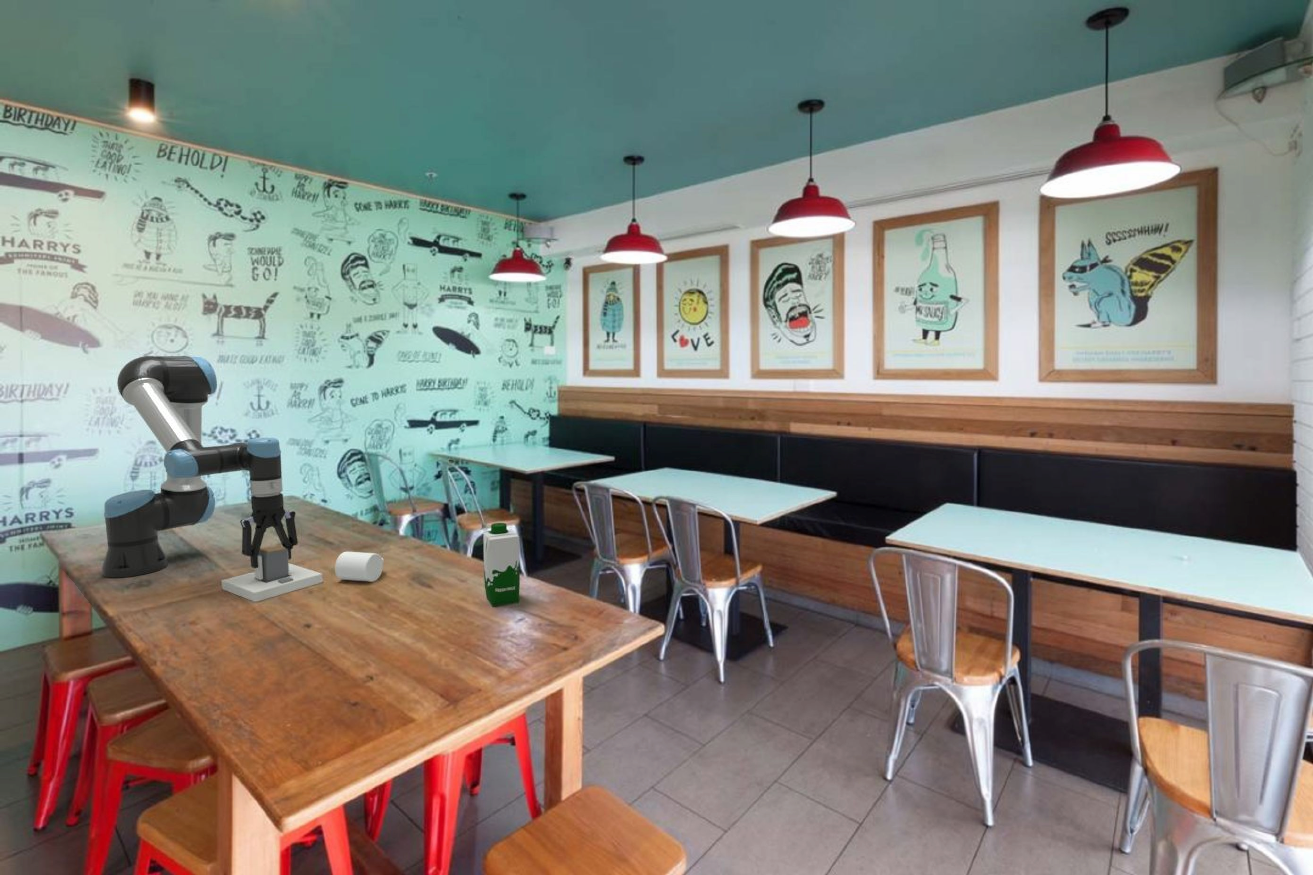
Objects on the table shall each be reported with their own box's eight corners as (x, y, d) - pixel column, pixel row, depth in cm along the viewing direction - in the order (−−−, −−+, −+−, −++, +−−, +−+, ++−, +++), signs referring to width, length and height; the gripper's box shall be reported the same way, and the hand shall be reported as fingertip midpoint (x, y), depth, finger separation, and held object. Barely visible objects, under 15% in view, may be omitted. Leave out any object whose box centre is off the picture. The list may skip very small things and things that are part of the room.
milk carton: (514, 592, 172) (513, 520, 169) (523, 603, 164) (522, 528, 161) (482, 597, 168) (480, 524, 165) (489, 609, 160) (487, 532, 157)
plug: (257, 584, 175) (256, 548, 174) (278, 579, 180) (277, 544, 179) (268, 588, 172) (266, 551, 171) (288, 583, 177) (287, 547, 176)
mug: (366, 585, 176) (364, 558, 176) (335, 583, 178) (333, 555, 177) (392, 572, 188) (391, 546, 187) (362, 569, 190) (361, 544, 189)
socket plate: (222, 588, 173) (221, 578, 173) (288, 571, 188) (288, 561, 188) (255, 602, 164) (254, 590, 163) (322, 582, 179) (322, 571, 178)
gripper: (235, 501, 163) (241, 587, 165) (309, 489, 179) (314, 567, 182) (221, 498, 167) (227, 582, 169) (295, 487, 183) (299, 563, 186)
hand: (272, 574), depth 176 cm, fingers open, 6 cm apart
